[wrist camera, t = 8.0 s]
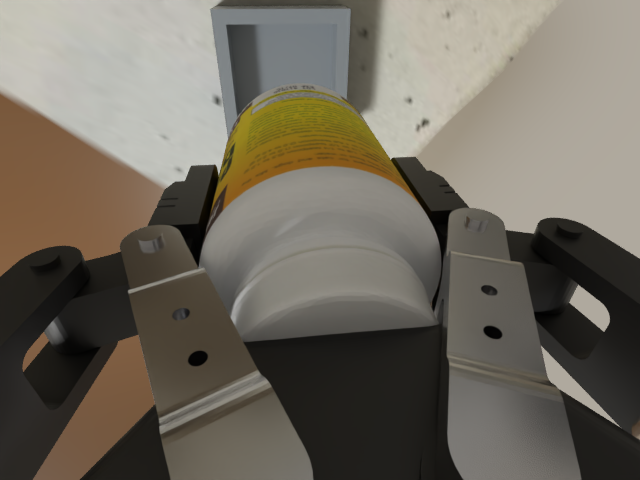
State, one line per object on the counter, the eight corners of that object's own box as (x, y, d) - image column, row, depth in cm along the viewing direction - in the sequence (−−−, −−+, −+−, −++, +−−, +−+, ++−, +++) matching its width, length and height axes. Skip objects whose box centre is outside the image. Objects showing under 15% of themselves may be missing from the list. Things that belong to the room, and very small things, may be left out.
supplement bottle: (215, 82, 13) (127, 265, 5) (373, 76, 14) (539, 232, 5) (237, 219, 16) (206, 471, 8) (364, 210, 17) (460, 439, 9)
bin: (215, 5, 25) (210, 9, 22) (342, 5, 26) (350, 8, 23) (232, 132, 30) (229, 146, 27) (338, 128, 30) (344, 141, 28)
